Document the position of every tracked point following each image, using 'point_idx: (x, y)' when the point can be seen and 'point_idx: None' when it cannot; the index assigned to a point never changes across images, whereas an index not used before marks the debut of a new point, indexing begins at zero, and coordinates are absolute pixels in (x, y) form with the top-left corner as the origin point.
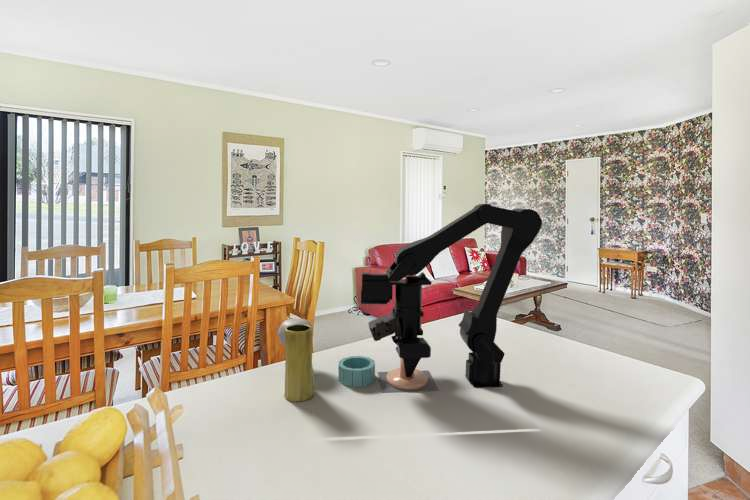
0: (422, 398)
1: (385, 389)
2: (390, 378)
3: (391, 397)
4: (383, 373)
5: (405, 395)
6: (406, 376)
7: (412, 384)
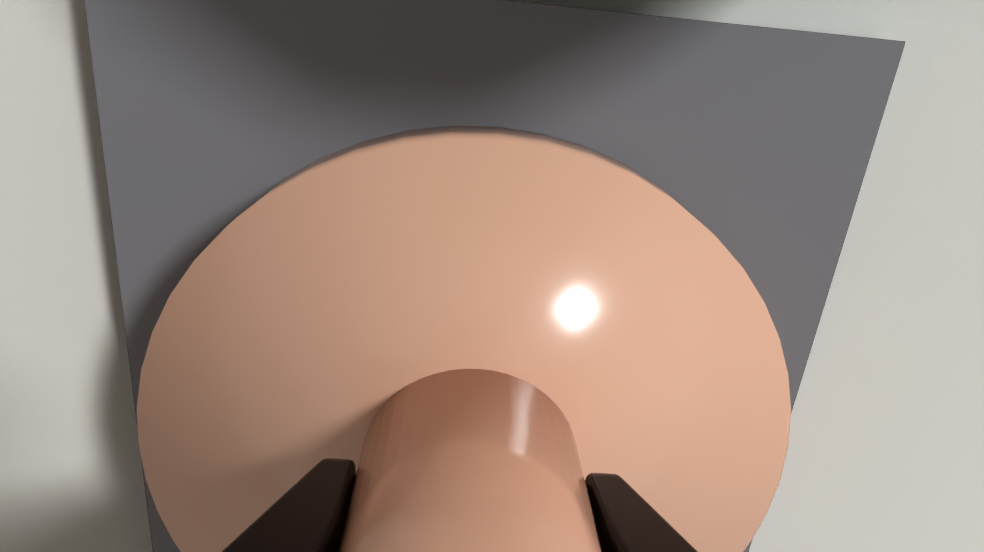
0: (15, 480)
1: (193, 42)
2: (432, 198)
3: (3, 96)
4: (814, 136)
5: (84, 308)
6: (315, 469)
7: (182, 476)
